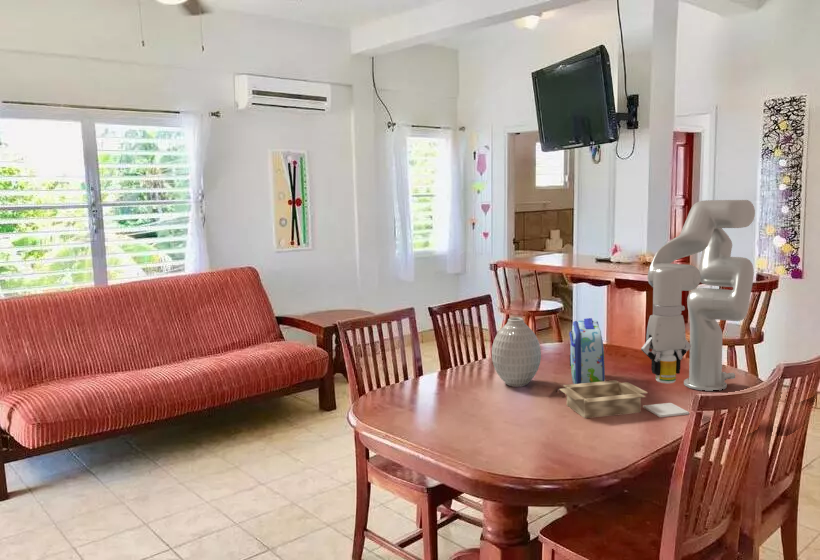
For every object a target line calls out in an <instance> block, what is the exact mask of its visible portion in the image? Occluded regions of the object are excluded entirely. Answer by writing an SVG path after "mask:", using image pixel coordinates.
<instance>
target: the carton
mask: <svg viewBox="0 0 820 560" xmlns="http://www.w3.org/2000/svg"><path fill="white" fill-rule="evenodd" d="M562 387H563V388H559V391H560V392H562V393H564V394H565V395H566V406H567V407H569V409H571V410H573V411H575V413H577V414H578V415H579V416H580V417H582V418H583V419H588V418H589V419H591V418H599V417H607V416H608V417H609V416H618V415H619V416H620V415H627V414H629V415H630V414H639V413H641V411H642V409H641V407H642V406H641V405H642V404H641V399H642V398H646V395H645V394H648V391H646V390H644V389H641V388H640V387H638V386H636V385H634V384H632V383H631V382H628V381H626V382H620V381H618V380H616V379H615V380H605V381H602V382H591V383H581V384H562Z"/></svg>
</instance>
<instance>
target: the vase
mask: <svg viewBox="0 0 820 560" xmlns="http://www.w3.org/2000/svg"><path fill="white" fill-rule="evenodd" d="M491 346H492V347H491V360H492V364H493V368H494V371H495V372H496V373H497V375H498V376H499V379H501V380H502V381H503V382H504V383H505V384H506V385H507V386H508V387H509V386H510V387H518V388H519V387H524V386H527V385H528V384H529V383H530V382H532V380H533V378H534V377H535V376H536V374H537V372H538V370H539V368H540V364H541V360H542V351H541V350H542V349H541V344H540V340H539V339H538V337H537V335H536V333H535V332H534V331H533V330H532V329H531V327H530V326H528V325H527V323H525V321H524V319H523V318H522V317H510V318H508V319H507V322H506V324H504V325H503V326H502V327H501V328H500V330H499V331H498V332H497V334H496V335H495V337H494V340H493V343H492V345H491Z"/></svg>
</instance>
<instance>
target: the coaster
mask: <svg viewBox="0 0 820 560" xmlns="http://www.w3.org/2000/svg"><path fill="white" fill-rule="evenodd" d="M642 408H643V409H645V410H647V411H649V412H650V413H652V414H654V415H655V416H657V417H659V418H665V417H674V416H685V415H686V416H687V415H690V411H688V410H686V409H684V408H682V407H680V406H678V405H676V404H674V403H672V402H665V403H663V402H662V403H655V404H647V405H646V404H645V405H644V404H643V406H642Z"/></svg>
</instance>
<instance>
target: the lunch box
mask: <svg viewBox="0 0 820 560" xmlns="http://www.w3.org/2000/svg"><path fill="white" fill-rule="evenodd" d="M569 340H570V343H569V344H570V345H569V347H570V350H569V351H570V355H569V367H570V370H571V371H570V373H571V374H570V375H571V380H572V382H573V384H581V383H591V382H602V381H606V380H605V379H606V377H605V376H606V374H605V373H606V372H605V371H606V370H605V368H606V367H605V348H604V340H603V336H602V330H601V328H600V325H599V321H598V320H593V318H592V317H590V318H589V317H588V318H587V317H586V318H583V320H578V321H577V320H574V321H573V322H572V328H571V330H570V331H569Z"/></svg>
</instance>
